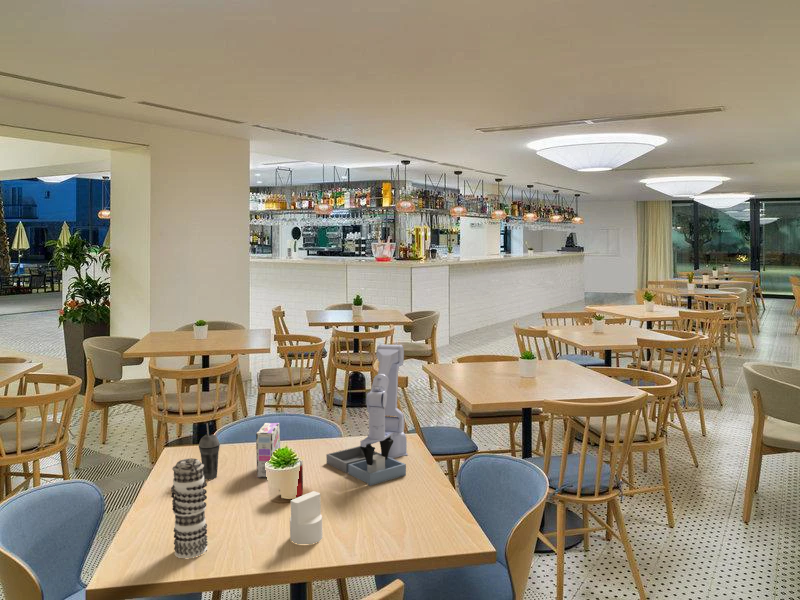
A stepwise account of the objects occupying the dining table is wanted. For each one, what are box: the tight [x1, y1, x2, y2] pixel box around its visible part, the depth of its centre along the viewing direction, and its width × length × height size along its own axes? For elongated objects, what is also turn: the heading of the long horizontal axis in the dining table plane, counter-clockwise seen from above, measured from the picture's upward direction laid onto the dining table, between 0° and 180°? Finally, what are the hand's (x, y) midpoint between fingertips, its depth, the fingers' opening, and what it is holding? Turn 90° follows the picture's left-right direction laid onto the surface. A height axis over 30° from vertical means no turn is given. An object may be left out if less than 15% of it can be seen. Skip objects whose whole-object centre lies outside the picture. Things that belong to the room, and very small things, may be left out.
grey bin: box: [326, 445, 381, 474], centre depth 238 cm, size 16×13×4 cm
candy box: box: [255, 422, 281, 479], centre depth 231 cm, size 14×6×16 cm, turn 179°
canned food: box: [296, 459, 304, 498], centre depth 209 cm, size 8×8×11 cm
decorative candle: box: [170, 457, 208, 559], centre depth 170 cm, size 9×9×25 cm
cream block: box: [367, 455, 385, 473], centre depth 227 cm, size 4×4×6 cm
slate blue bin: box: [347, 457, 407, 487], centre depth 227 cm, size 16×13×4 cm
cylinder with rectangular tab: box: [289, 490, 323, 545], centre depth 178 cm, size 9×9×12 cm
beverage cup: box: [198, 422, 221, 480], centre depth 225 cm, size 7×7×20 cm
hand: (377, 461), depth 227 cm, fingers open, 7 cm apart
